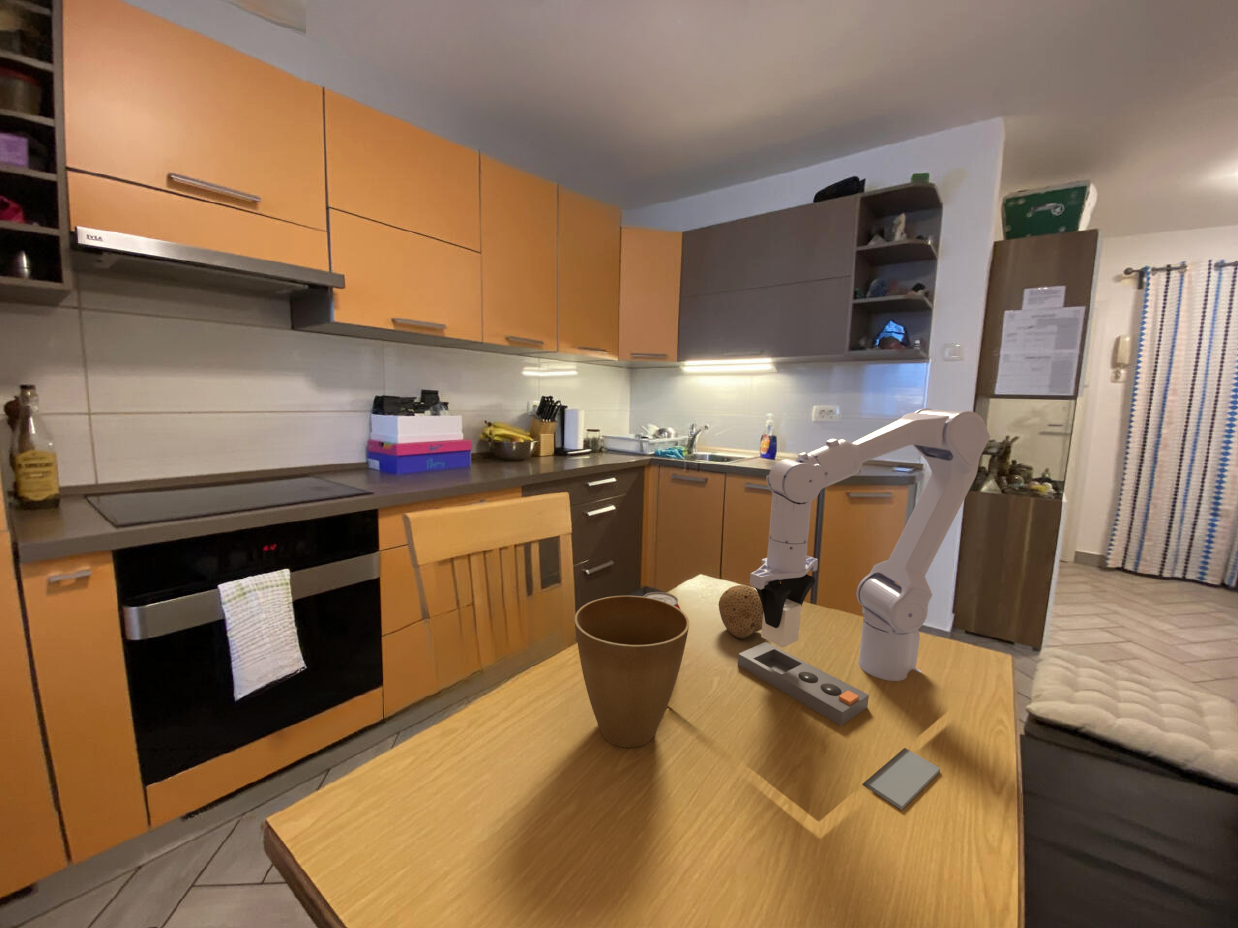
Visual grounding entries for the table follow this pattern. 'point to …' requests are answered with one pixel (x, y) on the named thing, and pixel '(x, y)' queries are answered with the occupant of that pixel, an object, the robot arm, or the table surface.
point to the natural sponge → (741, 611)
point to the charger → (784, 626)
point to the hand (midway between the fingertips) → (781, 621)
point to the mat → (902, 778)
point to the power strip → (804, 682)
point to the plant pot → (630, 663)
